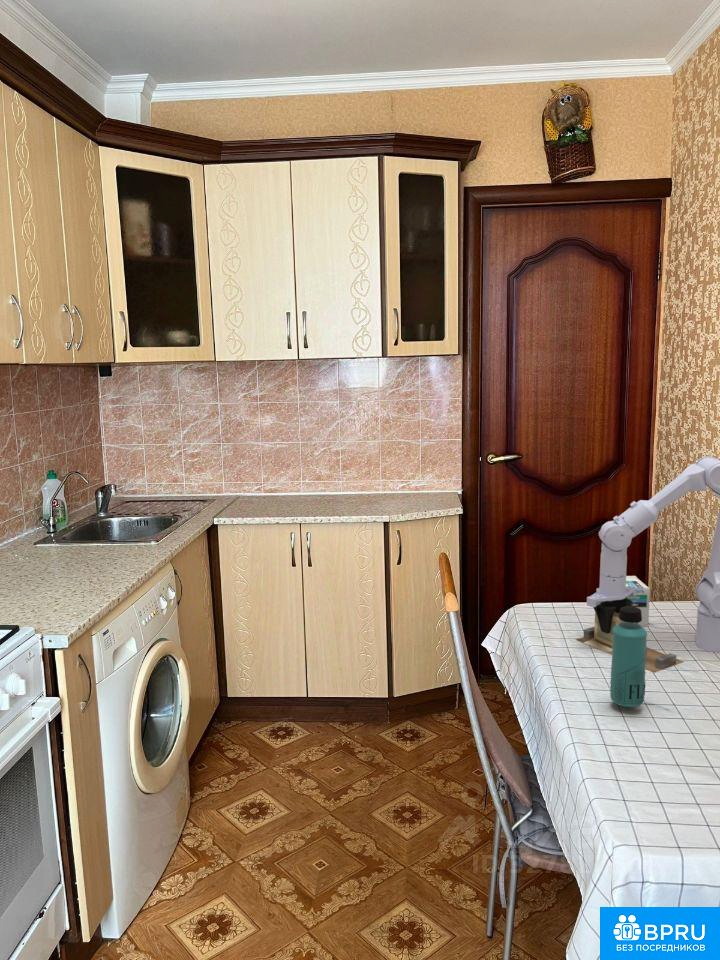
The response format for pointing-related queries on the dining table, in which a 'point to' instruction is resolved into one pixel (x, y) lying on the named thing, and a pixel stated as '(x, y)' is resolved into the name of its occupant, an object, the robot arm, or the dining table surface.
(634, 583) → the light bulb box
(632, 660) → the beverage bottle
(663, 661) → the brown board with blocks
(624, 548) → the robot arm
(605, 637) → the tall tan box
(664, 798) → the dining table surface
